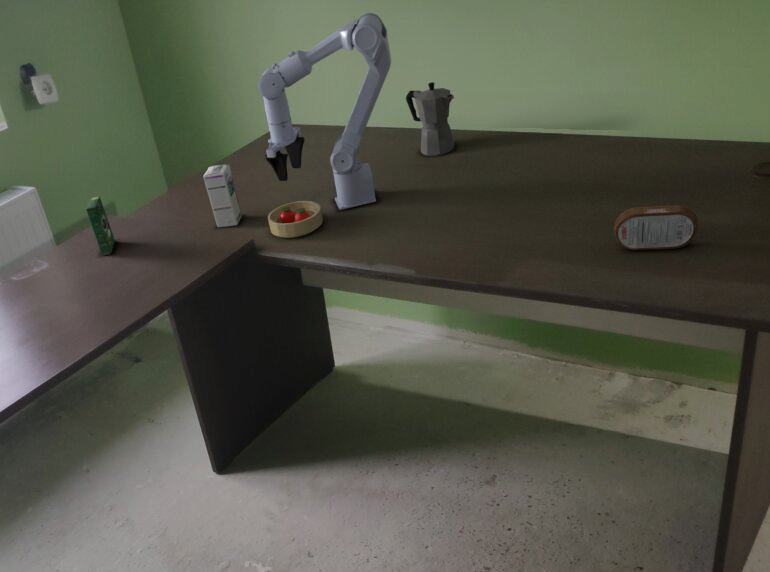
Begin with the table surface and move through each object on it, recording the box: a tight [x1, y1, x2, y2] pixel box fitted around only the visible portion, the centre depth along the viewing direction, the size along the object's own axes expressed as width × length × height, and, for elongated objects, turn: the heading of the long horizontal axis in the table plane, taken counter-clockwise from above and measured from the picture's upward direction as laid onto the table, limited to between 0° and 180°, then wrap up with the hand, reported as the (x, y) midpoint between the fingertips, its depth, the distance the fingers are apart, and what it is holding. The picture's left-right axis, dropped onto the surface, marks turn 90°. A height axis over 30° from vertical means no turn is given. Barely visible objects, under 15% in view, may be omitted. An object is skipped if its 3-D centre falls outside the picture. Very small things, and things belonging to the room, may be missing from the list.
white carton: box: [202, 163, 243, 228], centre depth 223 cm, size 6×6×14 cm
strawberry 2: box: [295, 208, 310, 222], centre depth 213 cm, size 4×4×4 cm
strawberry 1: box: [280, 207, 295, 224], centre depth 215 cm, size 4×4×4 cm
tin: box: [613, 205, 699, 251], centre depth 169 cm, size 15×3×8 cm, turn 71°
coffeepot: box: [405, 81, 455, 157], centre depth 232 cm, size 15×9×18 cm, turn 44°
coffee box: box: [85, 195, 116, 256], centre depth 226 cm, size 8×3×13 cm, turn 0°
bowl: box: [267, 200, 324, 239], centre depth 214 cm, size 13×13×4 cm
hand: (290, 174), depth 219 cm, fingers open, 7 cm apart
